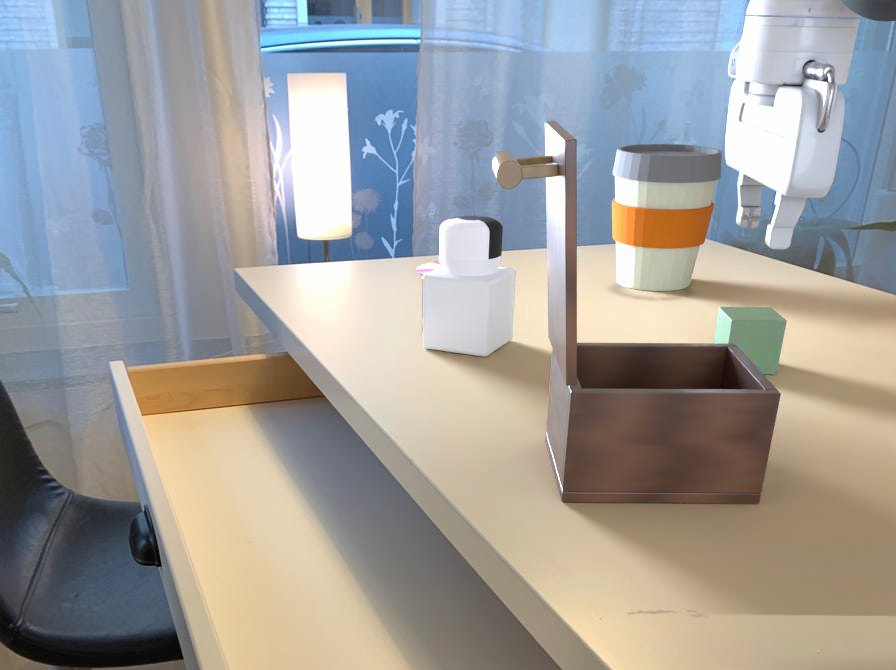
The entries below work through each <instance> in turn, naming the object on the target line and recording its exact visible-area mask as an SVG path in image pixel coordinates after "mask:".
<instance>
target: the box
mask: <svg viewBox="0 0 896 670" xmlns="http://www.w3.org/2000/svg"><path fill="white" fill-rule="evenodd" d="M550 360H551V362H550V372H549V374H550V375H549V388H548V402H547V413H546V426H545V444H546V448H547V452H548V455H549V460H550V463H551V467H552V470H553V474H554V478H555V482H556V485H557V489H558V493H559V496H560V501H561V502H562V503H610V504H611V503H613V504H615V503H617V504H619V503H624V504H625V503H626V504H627V503H629V504H631V503H632V504H749V505H751V504H752V505H753V504H760V501H761V497H762V492H763V487H764V482H765V476H766V472H767V467H768V461H769V457H770V451H771V448H772V447H771V446H772V442H773V435H774V432H775V431H774V430H775V426H776V420H777V415H778V411H779V407H780V401H781V395H782V393H781V392H780V391H779V390H778V389H777V388H776V386H775V385H774V384H773V383H772V382H771V381H770V380H769V378H767V377H766V375H764V374H763V373H762V372H761V371H760V370H759V369H758V368H757V367H756V366H755V365H754V364H753V362H752V361H751V360H750V359H749V358H748V357H747V356H746V355H745V354H744V353H743V352H742V350H741V349H740V348H739V347H738V346H737V345H736V344H721V343H713V342H712V343H710V342H709V343H705V342H703V343H699V342H697V343H696V342H691V343H690V342H687V343H686V342H577V385H573V386H566V383H565V381H564V378H563V375H562V372H561V370H560V367H559V364H558V362H557V359H556V356H555V353H554V351H553V348H552V347H551V359H550Z"/></svg>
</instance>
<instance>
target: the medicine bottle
mask: <svg viewBox="0 0 896 670" xmlns="http://www.w3.org/2000/svg"><path fill="white" fill-rule="evenodd" d="M503 231H504V226H503V225H502V223H501V221H499V220H497V219H495V218H493V217H491V216H487V215H473V214H472V215H469V214H468V215H454V216H451V217H449V218H447V219H445V220H443V221H442V222H441V223H440V225H439V242H438V243H439V252H438V261H439V262H440V263H441V264H442V267H440V268H438V269H436V270H434V271H432V272H429V273H427V274H425V275H422V278H421V279H422V281H421V284H422V285H421V287H422V289H421V295H422V297H421V299H422V300H421V309H422V310H421V346H422V348H423V349H427V350H433V351H441V352H448V353H456V354H463V355H469V356H476V357H484V358H485V357H488V356H490V355H491V354H492V353H494V352H495V351H497V350H498V349H500V348H501V347H503V346H504V345H506V344H508V343H509V342H510V341H512V340H513V337H514V336H513V335H514V318H515V299H516V298H515V297H516V281H517V280H516V279H517V278H516V277H517V270H516V269H515V267H510V266H500V265H501V264H502V252H503Z"/></svg>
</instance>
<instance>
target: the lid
mask: <svg viewBox="0 0 896 670" xmlns="http://www.w3.org/2000/svg"><path fill="white" fill-rule="evenodd" d="M544 143H545V148H544V149H545V152H544V153H545V155H532V156H522V157H521V156H520V157H516V156H515V155H514V153H512V152H510V151H508V150H503V151H499V152H498V153H496V154H495V155H494V157H493V158H492V162H491V168H492V171H493V174H494V176H495V178H496V181H497V183H498V185H499V187H501V188H503V189H504V190H505V189H506V190H512V189H514V188H516V187H518V186H519V185H520V183H521V182H522V180H534V179H543V178H545V198H546V199H545V207H546V210H545V211H546V213H545V214H546V264H547V265H546V271H547V272H546V273H547V275H546V276H547V279H546V280H547V282H546V283H547V337H548V339H549V342H550V345H551V349H552V348H553V351H554V353H555V356H556V359H557V362H558V364H559V367H560V370H561V372H562V375H563V378H564V381H565V383H566V386H573V385H577V343H578V140H577V138H575V137H574V136H573V135H572V134H571V133H570V132H568V130H566V129H565V128H564V127H563V126H562V125H561V124H560V123H558V121H556V120H546V121H544Z"/></svg>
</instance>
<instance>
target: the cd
mask: <svg viewBox="0 0 896 670" xmlns="http://www.w3.org/2000/svg"><path fill="white" fill-rule="evenodd" d="M440 267H442V264H441V263H440V262H439V260H438V261H437V260H436V261H431V262H426V263H423V264H420V265H418V266H417V267H416V272H417V273H419V274H420V275H422V276H424V275H425V274H427V273H429V272H432V271H434V270H436V269H438V268H440Z"/></svg>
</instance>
